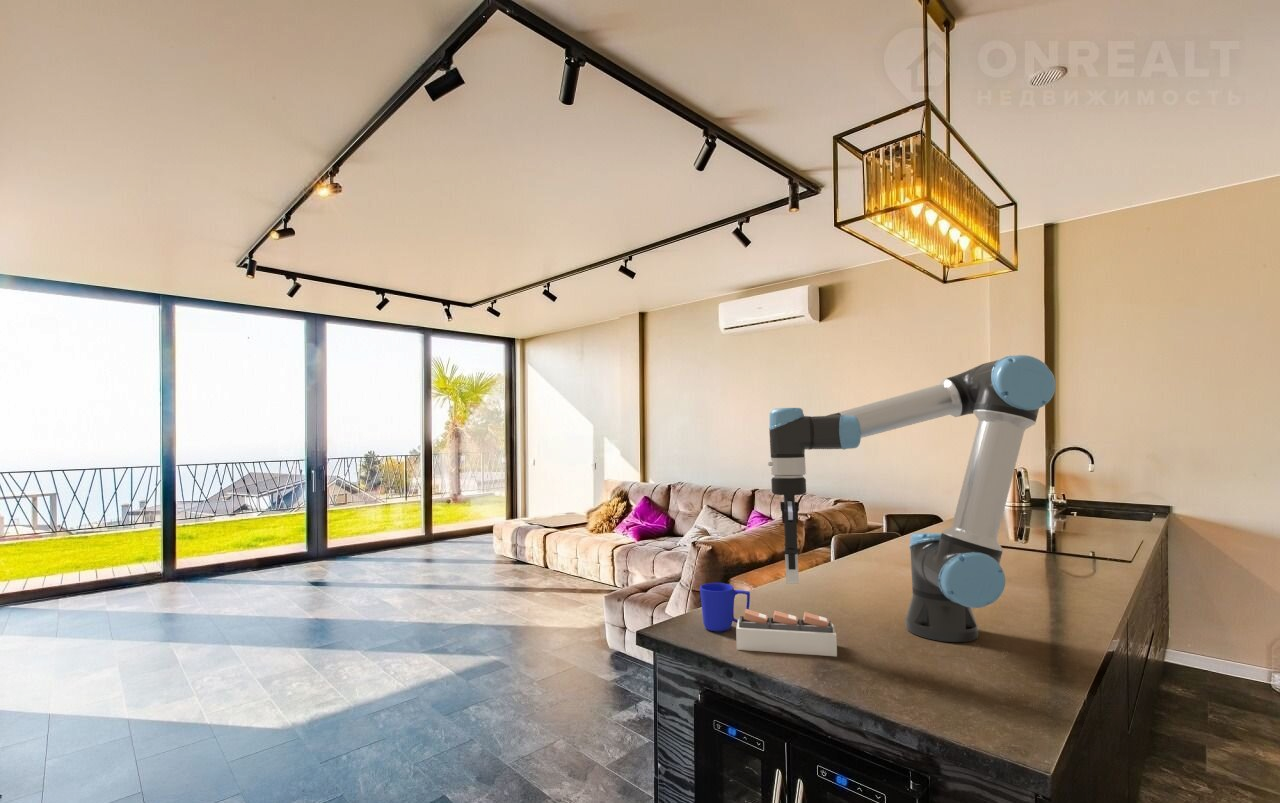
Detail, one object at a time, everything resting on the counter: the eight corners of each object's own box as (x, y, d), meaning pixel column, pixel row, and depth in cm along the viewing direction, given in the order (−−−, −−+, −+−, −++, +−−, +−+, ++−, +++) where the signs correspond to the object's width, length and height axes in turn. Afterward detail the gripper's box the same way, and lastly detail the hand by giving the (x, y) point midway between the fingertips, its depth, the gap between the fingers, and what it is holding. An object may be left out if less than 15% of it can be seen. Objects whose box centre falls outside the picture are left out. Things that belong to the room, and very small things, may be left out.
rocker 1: (765, 621, 130) (767, 615, 130) (765, 625, 127) (767, 619, 127) (744, 614, 131) (745, 608, 131) (743, 618, 128) (745, 612, 128)
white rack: (833, 644, 128) (832, 619, 128) (837, 656, 121) (836, 629, 122) (738, 638, 133) (738, 614, 133) (736, 649, 126) (736, 624, 126)
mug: (750, 635, 135) (749, 592, 135) (699, 633, 137) (698, 590, 138) (751, 624, 143) (749, 583, 143) (702, 622, 145) (701, 582, 146)
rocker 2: (795, 622, 128) (797, 616, 128) (796, 627, 125) (797, 620, 125) (773, 616, 130) (774, 610, 130) (773, 620, 126) (774, 614, 126)
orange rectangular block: (826, 624, 127) (827, 618, 127) (827, 629, 124) (828, 622, 124) (803, 617, 128) (804, 611, 128) (803, 622, 125) (805, 615, 125)
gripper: (771, 474, 136) (775, 575, 135) (771, 478, 124) (775, 590, 122) (804, 474, 135) (808, 576, 133) (807, 478, 122) (811, 591, 120)
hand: (792, 583), depth 128 cm, fingers closed
